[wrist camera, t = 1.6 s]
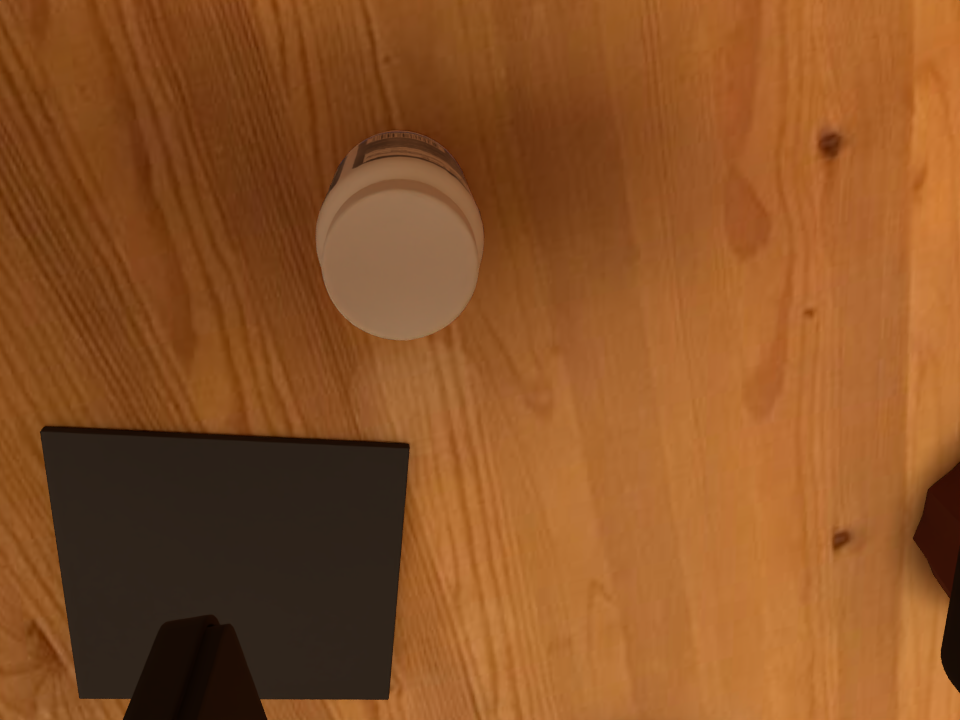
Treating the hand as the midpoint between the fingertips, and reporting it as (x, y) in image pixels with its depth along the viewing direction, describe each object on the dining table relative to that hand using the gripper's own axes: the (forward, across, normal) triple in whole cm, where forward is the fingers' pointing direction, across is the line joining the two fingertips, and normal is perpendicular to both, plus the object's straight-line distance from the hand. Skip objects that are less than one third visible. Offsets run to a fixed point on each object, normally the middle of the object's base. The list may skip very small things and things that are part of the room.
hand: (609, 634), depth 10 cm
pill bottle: (+20, +2, -2) cm, 20 cm away
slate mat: (+20, +12, +13) cm, 27 cm away
